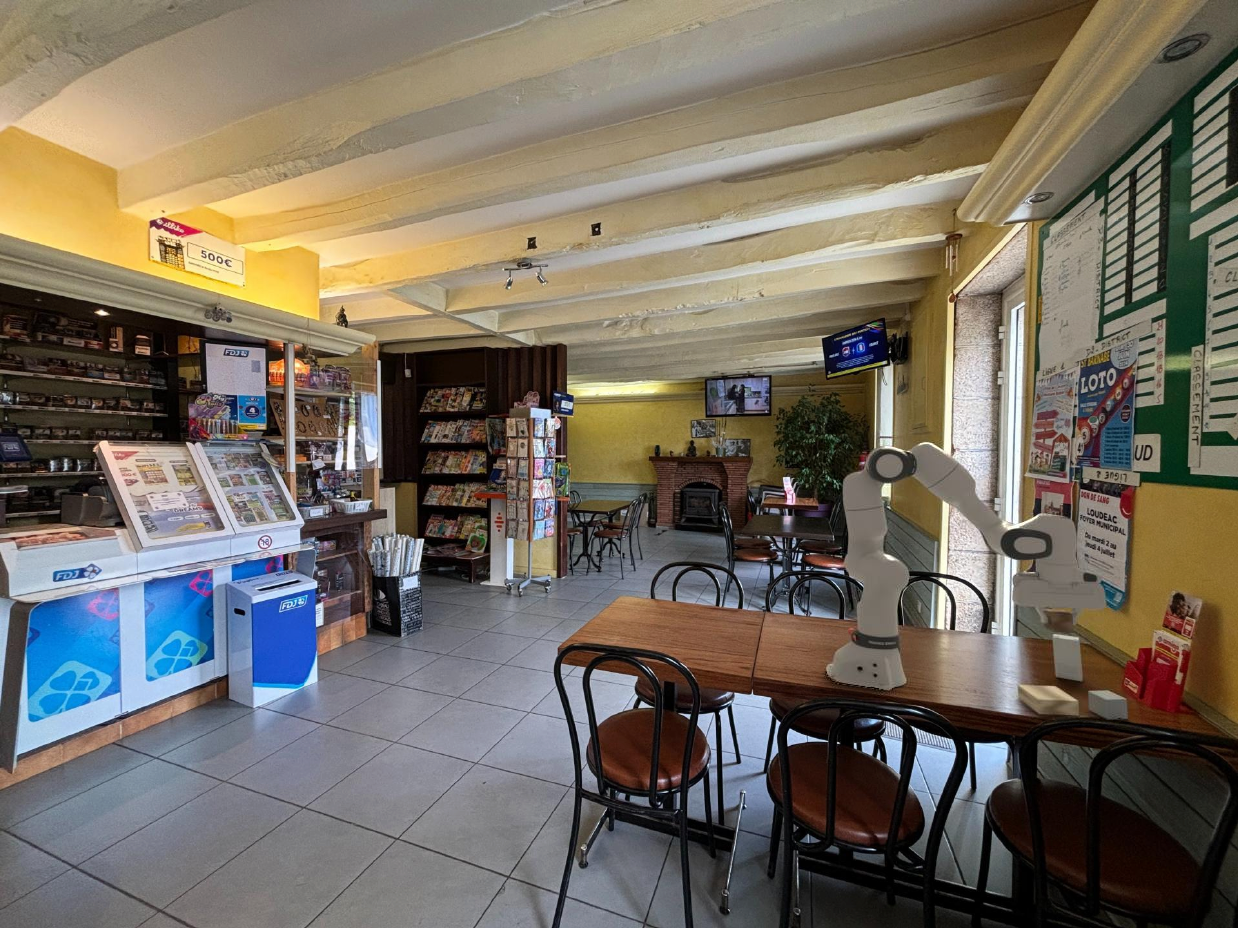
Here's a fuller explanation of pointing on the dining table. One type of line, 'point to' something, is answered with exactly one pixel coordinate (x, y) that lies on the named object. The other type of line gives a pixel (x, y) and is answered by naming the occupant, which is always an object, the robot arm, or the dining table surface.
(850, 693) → the dining table surface
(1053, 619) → the walnut block
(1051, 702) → the maple pedestal
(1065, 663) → the skincare box
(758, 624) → the dining table surface
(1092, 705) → the slate cube
